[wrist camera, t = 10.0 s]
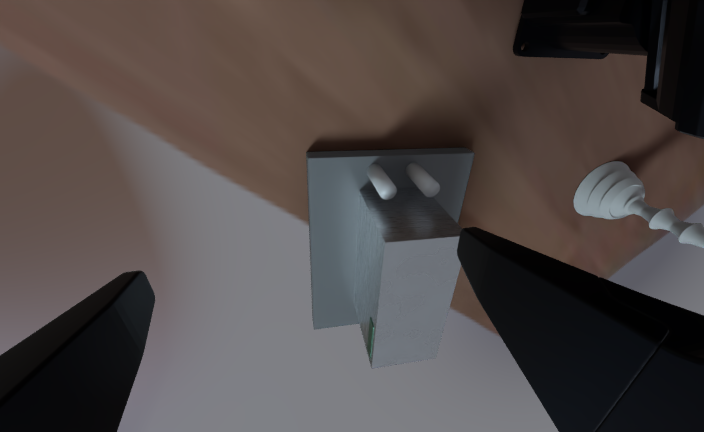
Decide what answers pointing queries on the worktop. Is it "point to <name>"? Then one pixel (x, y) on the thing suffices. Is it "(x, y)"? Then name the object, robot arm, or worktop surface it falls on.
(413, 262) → the block
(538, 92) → the worktop surface
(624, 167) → the chalice
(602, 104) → the worktop surface
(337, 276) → the grey peg plate
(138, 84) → the worktop surface
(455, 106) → the worktop surface
